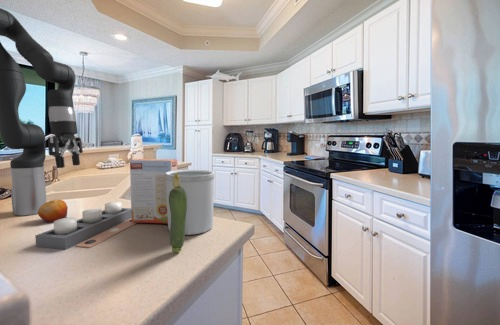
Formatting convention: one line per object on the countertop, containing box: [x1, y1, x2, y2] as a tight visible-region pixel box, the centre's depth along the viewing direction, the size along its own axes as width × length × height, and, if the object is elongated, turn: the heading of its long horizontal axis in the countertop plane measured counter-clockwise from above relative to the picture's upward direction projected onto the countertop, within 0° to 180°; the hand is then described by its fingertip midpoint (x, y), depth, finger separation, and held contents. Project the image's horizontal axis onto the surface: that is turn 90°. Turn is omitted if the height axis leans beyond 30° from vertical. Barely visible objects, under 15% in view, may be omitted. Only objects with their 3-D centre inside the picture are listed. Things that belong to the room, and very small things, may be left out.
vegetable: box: [169, 172, 187, 254], centre depth 61 cm, size 4×4×20 cm
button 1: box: [53, 217, 78, 235], centre depth 67 cm, size 5×5×3 cm
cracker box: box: [129, 158, 179, 225], centre depth 82 cm, size 14×6×21 cm, turn 84°
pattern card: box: [74, 218, 139, 249], centre depth 75 cm, size 4×23×1 cm, turn 170°
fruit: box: [37, 199, 68, 223], centre depth 85 cm, size 8×8×8 cm
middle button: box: [81, 208, 103, 224], centre depth 76 cm, size 5×5×3 cm
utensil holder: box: [165, 169, 216, 236], centre depth 77 cm, size 15×15×18 cm
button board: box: [34, 207, 132, 250], centre depth 76 cm, size 9×27×3 cm, turn 170°
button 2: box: [104, 201, 123, 214], centre depth 85 cm, size 5×5×3 cm
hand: (69, 166), depth 88 cm, fingers open, 8 cm apart
